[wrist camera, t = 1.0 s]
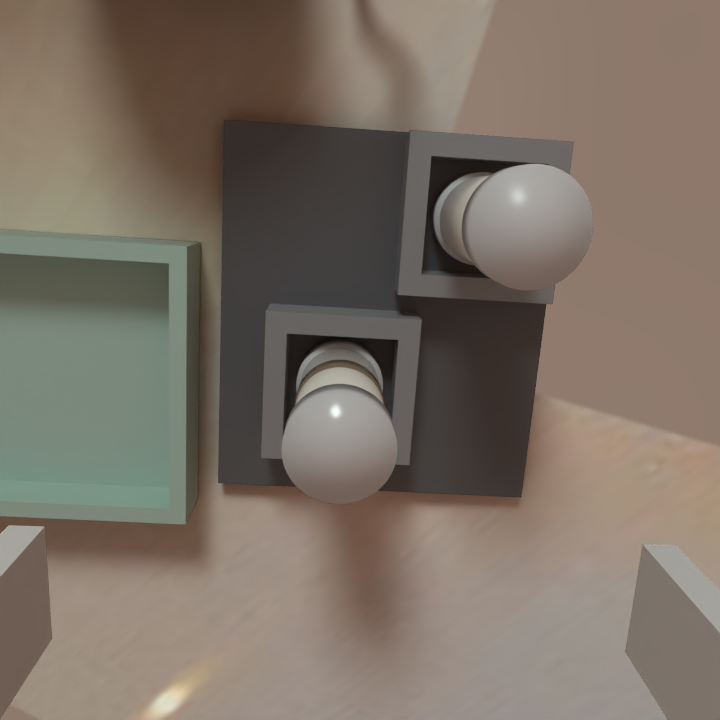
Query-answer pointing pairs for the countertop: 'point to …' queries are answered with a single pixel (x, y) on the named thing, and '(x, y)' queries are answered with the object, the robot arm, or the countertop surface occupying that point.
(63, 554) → the countertop surface
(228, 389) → the block
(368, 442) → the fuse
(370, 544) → the countertop surface
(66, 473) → the parts tray
